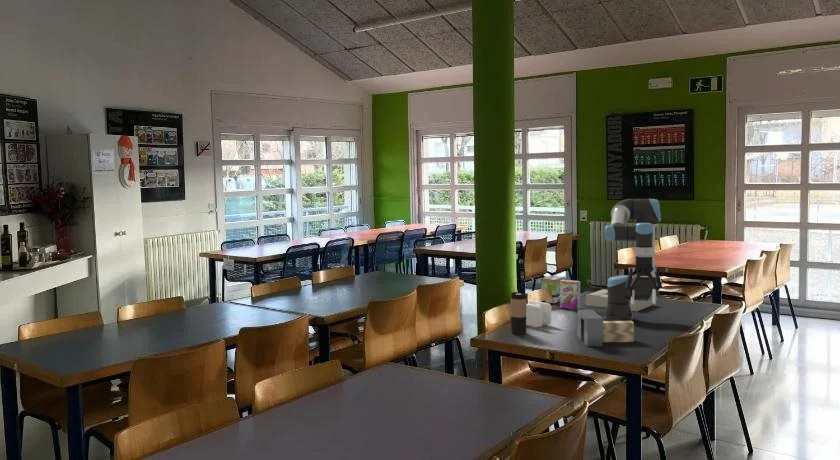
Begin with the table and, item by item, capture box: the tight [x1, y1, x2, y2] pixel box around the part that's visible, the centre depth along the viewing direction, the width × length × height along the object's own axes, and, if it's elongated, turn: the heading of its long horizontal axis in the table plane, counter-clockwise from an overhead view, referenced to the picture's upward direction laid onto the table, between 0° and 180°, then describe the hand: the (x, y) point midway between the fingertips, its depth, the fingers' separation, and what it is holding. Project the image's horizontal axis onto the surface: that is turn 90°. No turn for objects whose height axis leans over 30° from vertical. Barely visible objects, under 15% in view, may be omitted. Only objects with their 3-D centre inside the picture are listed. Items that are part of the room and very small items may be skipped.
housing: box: [577, 309, 604, 347], centre depth 325 cm, size 7×20×13 cm, turn 0°
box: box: [585, 289, 653, 312], centre depth 411 cm, size 23×8×32 cm
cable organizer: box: [526, 300, 553, 329], centre depth 360 cm, size 15×11×12 cm
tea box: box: [540, 275, 566, 304], centre depth 428 cm, size 15×10×15 cm
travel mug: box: [510, 291, 527, 336], centre depth 343 cm, size 8×8×20 cm
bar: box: [603, 320, 635, 343], centre depth 326 cm, size 18×5×9 cm, turn 90°
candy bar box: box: [558, 279, 581, 311], centre depth 403 cm, size 11×5×16 cm, turn 58°
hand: (643, 303), depth 324 cm, fingers open, 9 cm apart
